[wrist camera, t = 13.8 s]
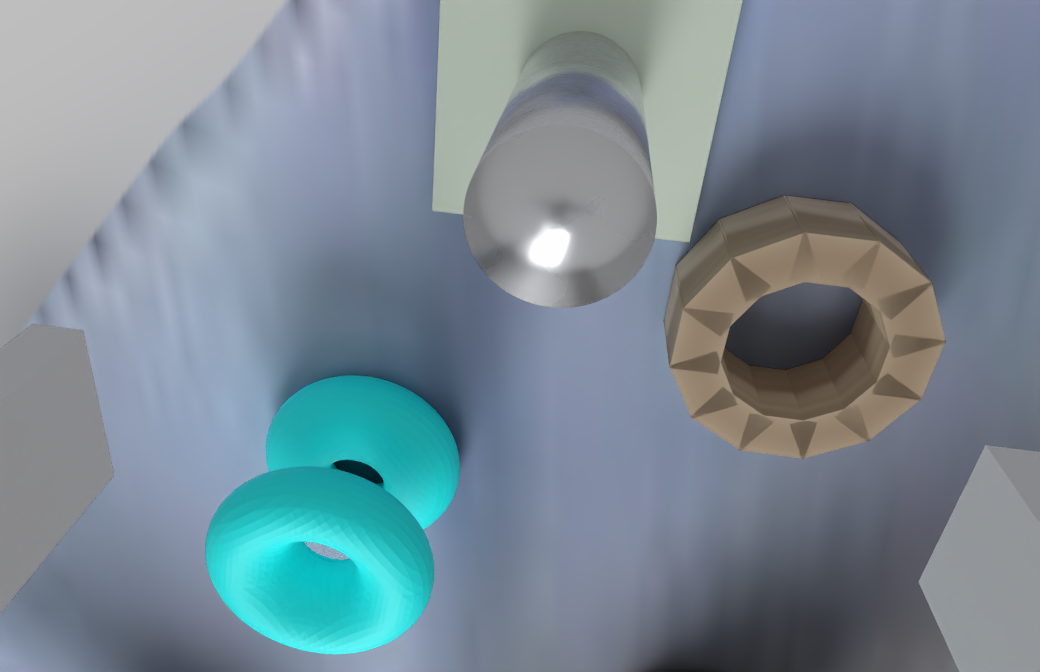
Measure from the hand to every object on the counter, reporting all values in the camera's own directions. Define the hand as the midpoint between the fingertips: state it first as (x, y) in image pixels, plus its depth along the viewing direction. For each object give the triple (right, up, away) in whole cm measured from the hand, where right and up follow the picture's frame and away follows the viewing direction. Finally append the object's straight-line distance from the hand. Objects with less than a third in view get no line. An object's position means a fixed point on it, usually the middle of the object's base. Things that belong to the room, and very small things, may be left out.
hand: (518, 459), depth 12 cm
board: (+2, +12, +20) cm, 23 cm away
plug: (+2, +11, +19) cm, 22 cm away
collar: (+12, +3, +24) cm, 27 cm away
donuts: (-8, -4, +30) cm, 31 cm away
